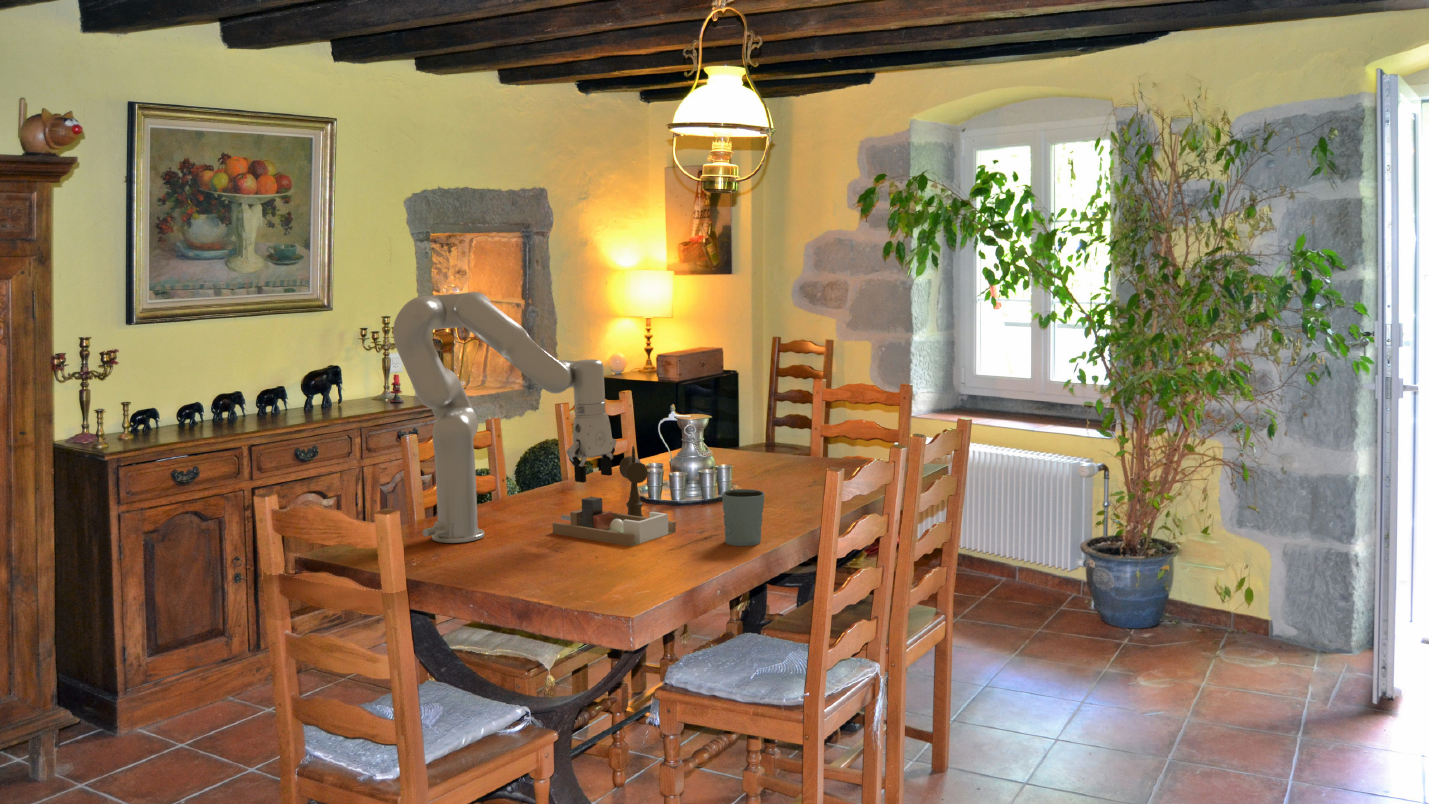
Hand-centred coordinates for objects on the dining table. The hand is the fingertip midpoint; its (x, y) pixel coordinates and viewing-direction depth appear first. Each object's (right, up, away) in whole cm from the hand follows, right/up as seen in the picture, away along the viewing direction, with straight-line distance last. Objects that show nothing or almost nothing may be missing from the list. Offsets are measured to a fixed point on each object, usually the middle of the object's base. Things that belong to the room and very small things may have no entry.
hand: (593, 478), depth 284 cm
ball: (+6, -13, -3) cm, 15 cm away
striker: (-3, -12, +3) cm, 13 cm away
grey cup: (+37, -15, -9) cm, 41 cm away
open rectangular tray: (+5, -14, -2) cm, 15 cm away
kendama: (+9, -12, +14) cm, 21 cm away
